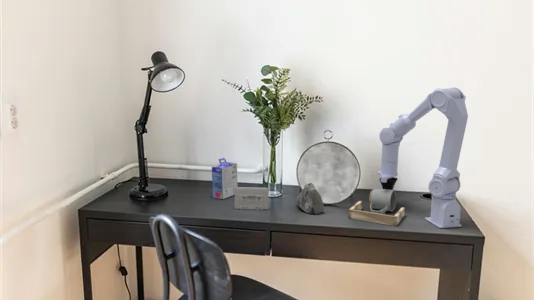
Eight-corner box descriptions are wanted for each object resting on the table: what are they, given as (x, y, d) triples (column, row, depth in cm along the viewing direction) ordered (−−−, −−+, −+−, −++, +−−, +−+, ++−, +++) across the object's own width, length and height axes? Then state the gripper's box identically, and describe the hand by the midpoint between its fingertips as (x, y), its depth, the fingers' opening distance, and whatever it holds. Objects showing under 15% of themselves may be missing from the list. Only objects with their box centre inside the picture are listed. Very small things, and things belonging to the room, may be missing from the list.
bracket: (359, 208, 178) (359, 200, 178) (404, 215, 171) (404, 207, 171) (348, 218, 168) (348, 209, 167) (396, 226, 161) (396, 217, 160)
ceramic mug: (373, 204, 183) (374, 184, 181) (396, 208, 179) (397, 187, 177) (364, 213, 174) (365, 192, 172) (387, 217, 170) (389, 195, 168)
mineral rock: (297, 202, 185) (297, 176, 183) (326, 204, 183) (327, 178, 181) (292, 213, 173) (292, 185, 171) (323, 215, 171) (324, 187, 169)
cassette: (268, 208, 178) (268, 187, 177) (268, 209, 176) (268, 188, 175) (234, 207, 178) (234, 186, 177) (234, 209, 176) (234, 188, 175)
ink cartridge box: (227, 191, 199) (226, 155, 196) (238, 193, 196) (238, 157, 193) (211, 197, 190) (211, 160, 188) (222, 199, 187) (222, 162, 185)
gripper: (383, 156, 186) (381, 191, 189) (372, 163, 174) (370, 200, 176) (402, 158, 183) (400, 193, 186) (393, 165, 171) (390, 203, 173)
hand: (387, 197), depth 181 cm, fingers closed
